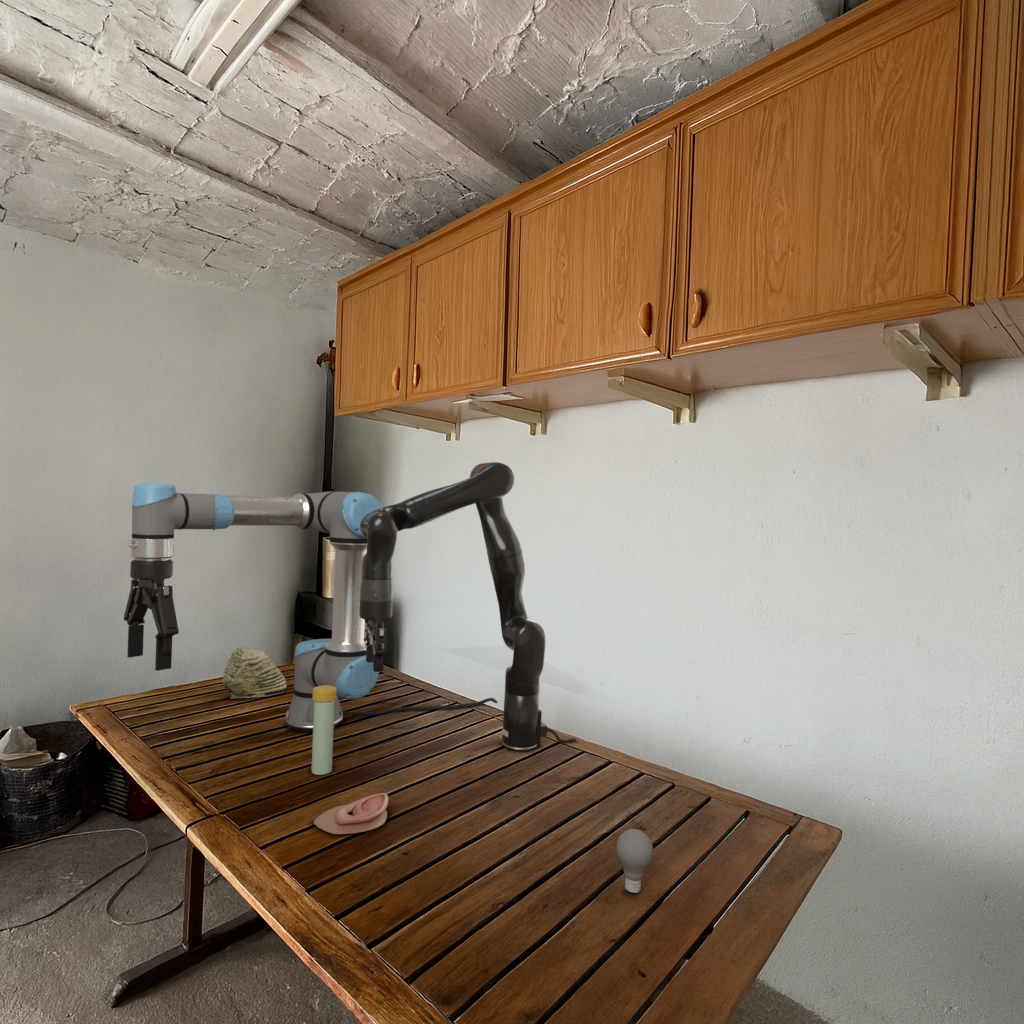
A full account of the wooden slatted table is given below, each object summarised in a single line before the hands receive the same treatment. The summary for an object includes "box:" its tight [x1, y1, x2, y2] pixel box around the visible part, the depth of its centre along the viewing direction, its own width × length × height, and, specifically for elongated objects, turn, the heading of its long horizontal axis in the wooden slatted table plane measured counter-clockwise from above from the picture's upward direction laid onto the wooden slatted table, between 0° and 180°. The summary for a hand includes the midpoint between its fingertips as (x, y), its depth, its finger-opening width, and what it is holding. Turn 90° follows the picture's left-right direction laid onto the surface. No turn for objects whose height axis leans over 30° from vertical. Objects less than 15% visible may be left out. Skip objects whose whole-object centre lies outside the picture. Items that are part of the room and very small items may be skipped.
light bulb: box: [615, 828, 654, 894], centre depth 106 cm, size 6×6×10 cm
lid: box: [313, 685, 337, 702], centre depth 146 cm, size 5×5×2 cm
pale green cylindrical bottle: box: [310, 700, 335, 776], centre depth 146 cm, size 4×4×19 cm
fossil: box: [222, 646, 288, 699], centre depth 198 cm, size 9×18×15 cm, turn 132°
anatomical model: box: [313, 792, 389, 835], centre depth 124 cm, size 13×4×12 cm
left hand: (148, 662), depth 129 cm, fingers open, 13 cm apart
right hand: (374, 666), depth 147 cm, fingers open, 8 cm apart
